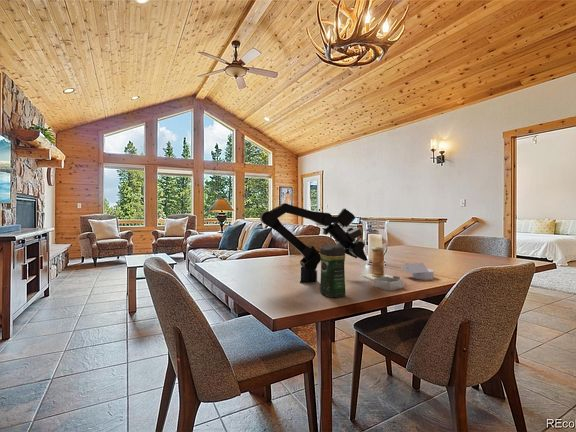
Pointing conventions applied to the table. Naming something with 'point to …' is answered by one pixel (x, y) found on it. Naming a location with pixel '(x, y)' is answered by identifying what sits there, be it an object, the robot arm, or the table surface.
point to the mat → (372, 276)
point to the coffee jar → (332, 271)
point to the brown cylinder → (378, 262)
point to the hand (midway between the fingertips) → (361, 259)
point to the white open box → (388, 283)
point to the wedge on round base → (419, 271)
